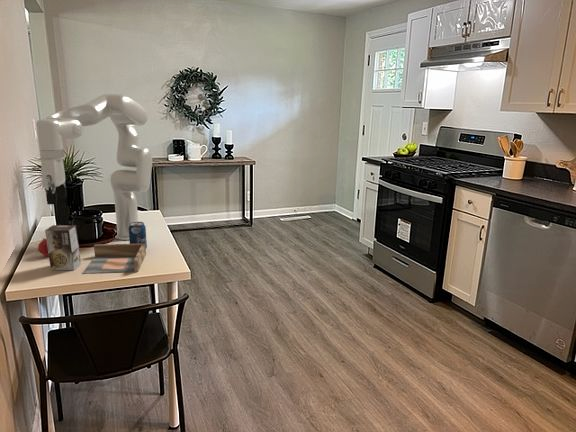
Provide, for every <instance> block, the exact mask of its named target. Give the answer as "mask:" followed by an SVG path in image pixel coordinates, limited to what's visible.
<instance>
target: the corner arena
mask: <svg viewBox="0 0 576 432" xmlns="http://www.w3.org/2000/svg"><path fill="white" fill-rule="evenodd" d="M93 250H94V251H93V252H94V257H93V258H92V259H91V261H90V262H89V264H88V265H87V266H86V267H85V268H84V270H83V272H82V273H81V274H84V275H85V274H112V273H113V274H114V273H115V274H116V273H138V272H139V271H140V269H141V267H142V264H143V262H144V260H145V258H146V256H147V252H146V251H147V248H145V244H130V243H111V244H109V243H108V244H94V245H93Z"/></svg>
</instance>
